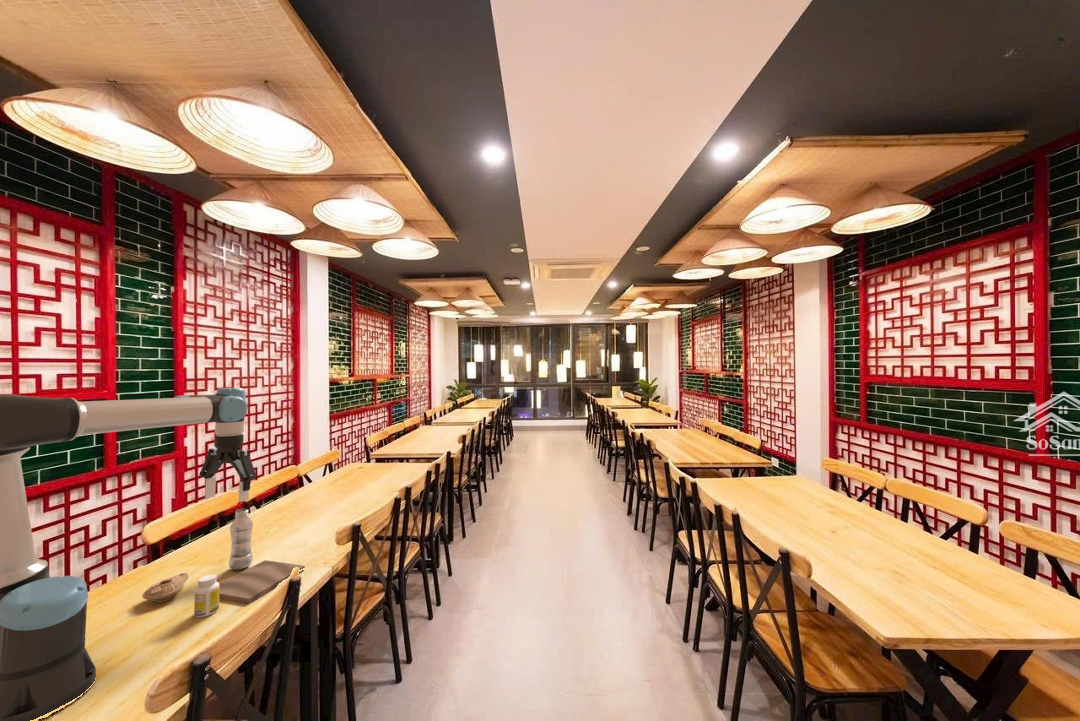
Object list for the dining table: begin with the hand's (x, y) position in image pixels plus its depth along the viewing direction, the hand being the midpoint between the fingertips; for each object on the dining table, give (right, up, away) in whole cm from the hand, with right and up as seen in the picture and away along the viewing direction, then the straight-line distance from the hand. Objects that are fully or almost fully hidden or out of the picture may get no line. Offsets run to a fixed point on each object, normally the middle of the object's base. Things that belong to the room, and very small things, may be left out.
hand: (226, 499), depth 127 cm
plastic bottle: (-2, -27, +8) cm, 29 cm away
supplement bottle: (+8, -27, -17) cm, 32 cm away
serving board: (+11, -27, -1) cm, 29 cm away
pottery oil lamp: (-11, -27, -8) cm, 30 cm away
